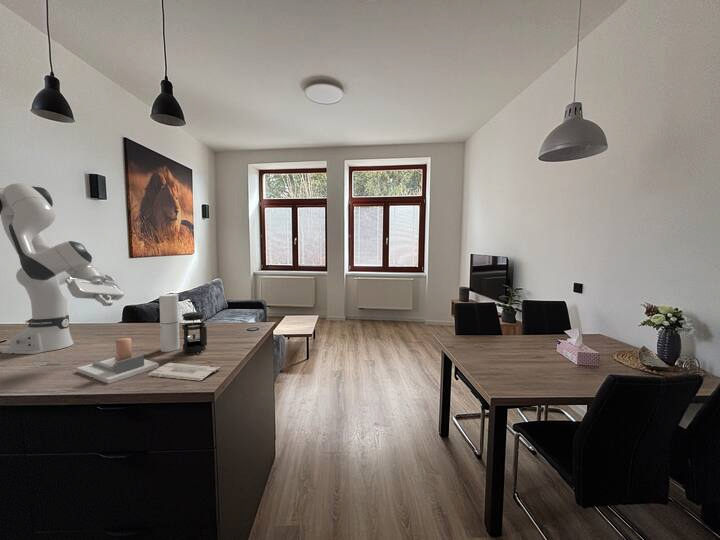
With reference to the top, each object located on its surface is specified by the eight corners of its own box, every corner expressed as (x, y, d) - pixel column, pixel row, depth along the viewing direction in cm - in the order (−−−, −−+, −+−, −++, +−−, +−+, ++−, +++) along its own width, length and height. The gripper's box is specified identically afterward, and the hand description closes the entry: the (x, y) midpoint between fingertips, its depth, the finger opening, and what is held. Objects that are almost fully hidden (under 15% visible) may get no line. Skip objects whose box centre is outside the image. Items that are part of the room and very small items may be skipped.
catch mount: (77, 371, 107) (76, 357, 107) (126, 357, 122) (126, 344, 121) (108, 383, 98) (108, 367, 97) (158, 367, 112) (158, 353, 112)
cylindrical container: (170, 352, 129) (168, 296, 127) (156, 351, 130) (155, 295, 129) (183, 347, 136) (181, 294, 134) (170, 346, 137) (168, 293, 136)
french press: (175, 352, 128) (174, 301, 127) (194, 346, 137) (193, 298, 136) (196, 356, 125) (195, 302, 123) (213, 349, 134) (213, 299, 132)
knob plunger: (113, 367, 107) (111, 340, 106) (128, 363, 111) (127, 336, 111) (120, 370, 104) (119, 342, 104) (136, 365, 109) (135, 338, 108)
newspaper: (224, 369, 112) (223, 363, 112) (201, 386, 100) (200, 380, 100) (173, 364, 116) (172, 358, 116) (146, 380, 105) (145, 373, 104)
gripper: (69, 271, 109) (90, 298, 108) (116, 278, 130) (134, 300, 128) (56, 282, 109) (76, 309, 107) (105, 287, 129) (123, 310, 127)
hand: (108, 304), depth 118 cm, fingers closed
